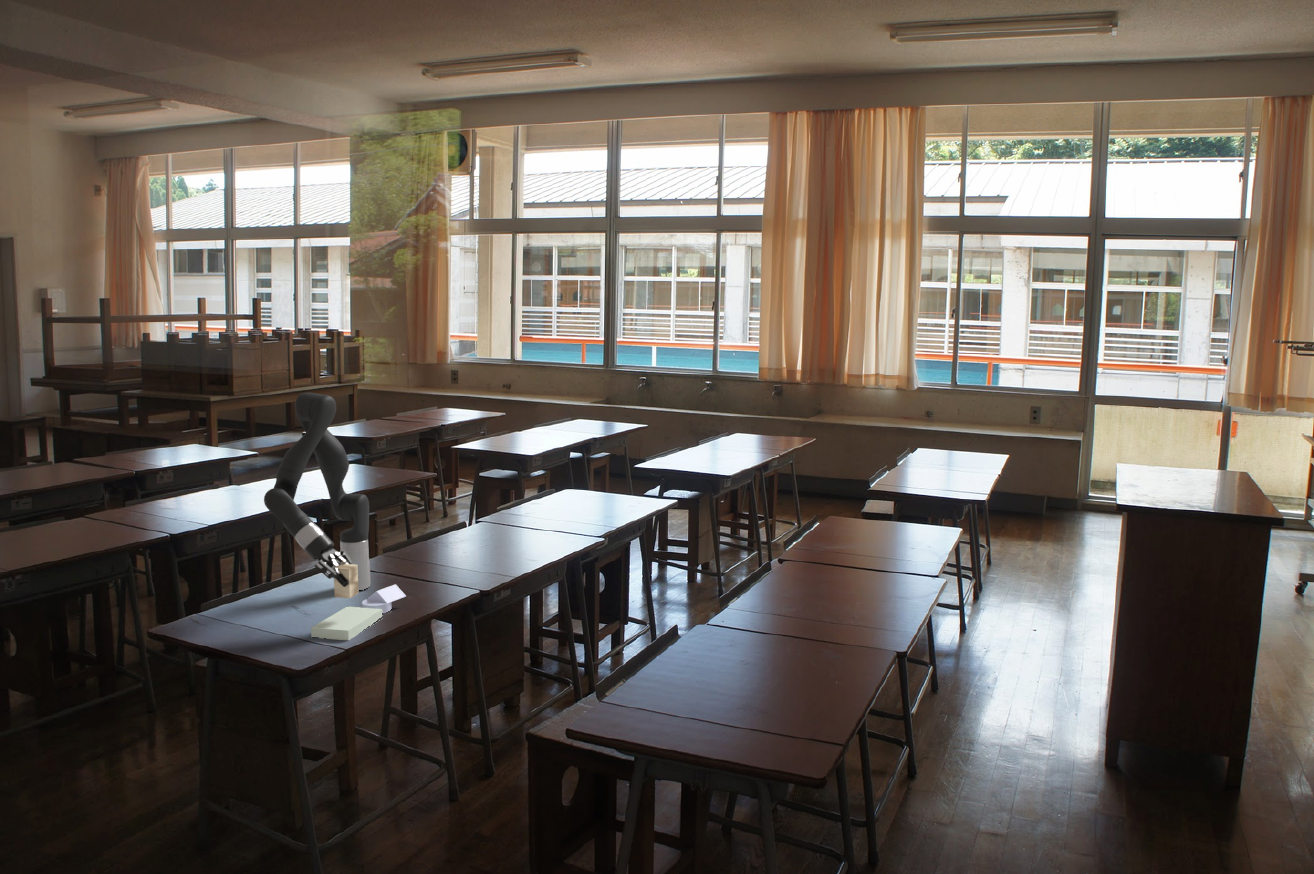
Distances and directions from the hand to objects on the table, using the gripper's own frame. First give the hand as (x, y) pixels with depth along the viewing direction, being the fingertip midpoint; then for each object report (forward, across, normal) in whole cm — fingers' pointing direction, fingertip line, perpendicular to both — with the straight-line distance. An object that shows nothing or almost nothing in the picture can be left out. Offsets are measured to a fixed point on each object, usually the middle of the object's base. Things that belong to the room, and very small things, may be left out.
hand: (351, 582), depth 272 cm
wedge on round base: (+10, +18, +10) cm, 23 cm away
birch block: (+2, 0, +4) cm, 5 cm away
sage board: (+9, 0, +11) cm, 14 cm away
